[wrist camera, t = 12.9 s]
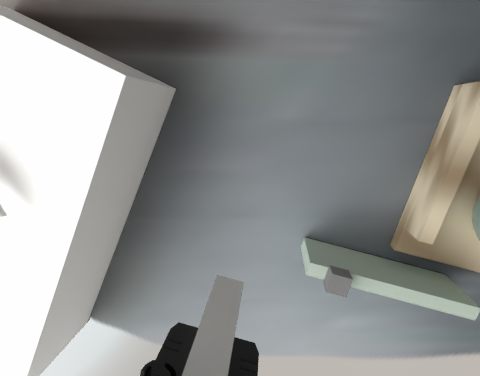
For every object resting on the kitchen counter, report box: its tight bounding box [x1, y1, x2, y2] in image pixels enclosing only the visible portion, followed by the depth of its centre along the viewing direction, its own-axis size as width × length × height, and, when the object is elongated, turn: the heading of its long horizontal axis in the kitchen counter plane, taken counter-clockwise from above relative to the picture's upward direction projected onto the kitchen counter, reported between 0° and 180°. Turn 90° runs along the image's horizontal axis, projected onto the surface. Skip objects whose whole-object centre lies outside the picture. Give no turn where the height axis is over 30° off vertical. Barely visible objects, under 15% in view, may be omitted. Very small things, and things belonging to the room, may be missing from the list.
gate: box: [301, 237, 480, 320], centre depth 22 cm, size 1×12×6 cm, turn 77°
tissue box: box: [0, 5, 176, 376], centre depth 22 cm, size 14×25×11 cm, turn 155°
